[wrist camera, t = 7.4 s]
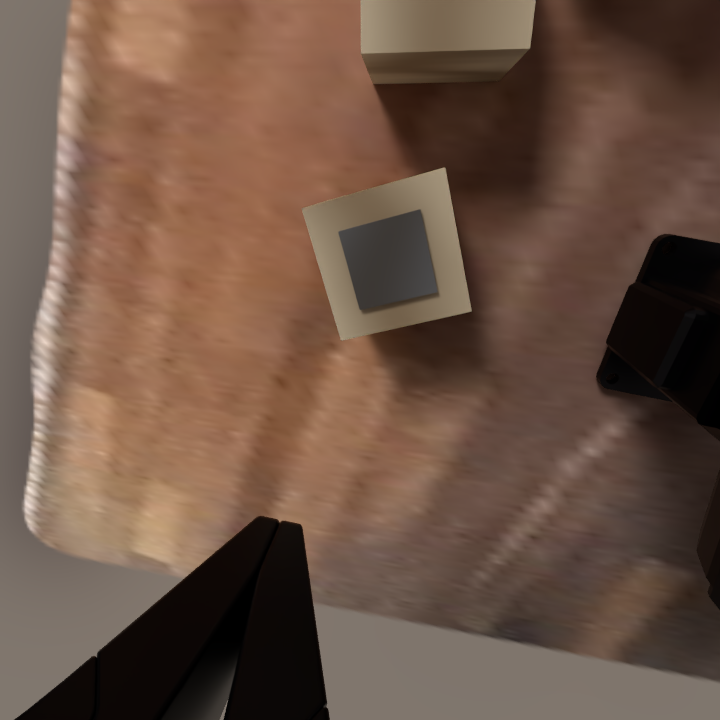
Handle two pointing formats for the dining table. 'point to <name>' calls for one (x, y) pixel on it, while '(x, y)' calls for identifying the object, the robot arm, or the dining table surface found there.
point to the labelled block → (390, 255)
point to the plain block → (444, 39)
